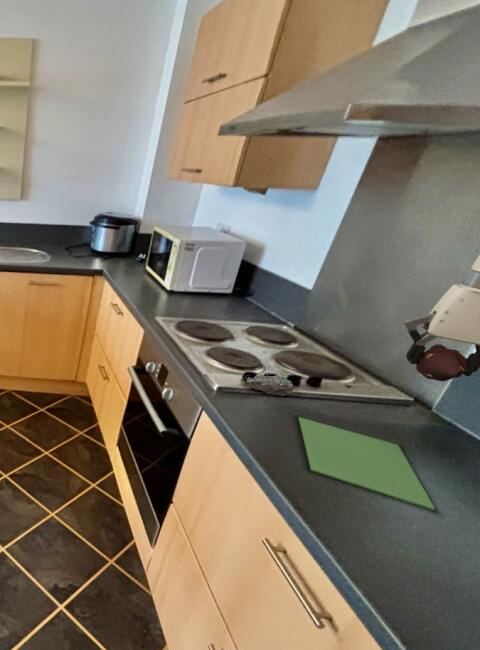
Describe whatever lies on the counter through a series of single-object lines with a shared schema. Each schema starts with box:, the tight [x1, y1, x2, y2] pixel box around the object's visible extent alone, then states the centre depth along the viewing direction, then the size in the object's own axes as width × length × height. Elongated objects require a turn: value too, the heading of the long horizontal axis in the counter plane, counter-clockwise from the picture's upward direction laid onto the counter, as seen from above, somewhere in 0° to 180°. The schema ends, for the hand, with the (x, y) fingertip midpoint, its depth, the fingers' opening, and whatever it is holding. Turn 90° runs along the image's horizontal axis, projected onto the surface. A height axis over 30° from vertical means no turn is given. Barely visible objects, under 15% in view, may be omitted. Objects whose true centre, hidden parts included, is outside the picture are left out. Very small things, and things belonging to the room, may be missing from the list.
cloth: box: [298, 416, 436, 511], centre depth 85 cm, size 18×22×1 cm
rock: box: [246, 373, 294, 397], centre depth 109 cm, size 8×10×4 cm
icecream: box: [415, 343, 468, 382], centre depth 84 cm, size 7×7×15 cm
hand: (437, 367), depth 85 cm, fingers closed on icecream, 7 cm apart
